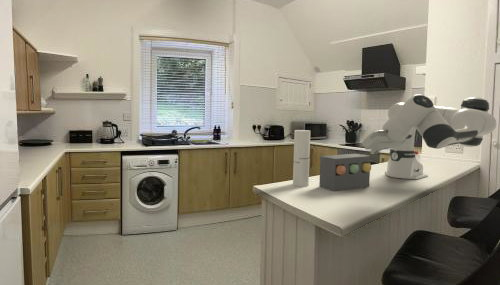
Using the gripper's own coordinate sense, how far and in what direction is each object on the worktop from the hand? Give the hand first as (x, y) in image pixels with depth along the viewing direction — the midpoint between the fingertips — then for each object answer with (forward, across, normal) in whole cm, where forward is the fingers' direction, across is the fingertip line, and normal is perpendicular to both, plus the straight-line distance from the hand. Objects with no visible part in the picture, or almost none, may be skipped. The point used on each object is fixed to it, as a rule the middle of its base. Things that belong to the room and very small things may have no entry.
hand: (372, 152), depth 139 cm
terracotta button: (+15, -8, 0) cm, 17 cm away
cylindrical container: (+31, -16, +7) cm, 35 cm away
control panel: (+23, 0, -1) cm, 23 cm away
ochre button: (+15, +8, 0) cm, 17 cm away
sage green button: (+15, 0, 0) cm, 15 cm away
